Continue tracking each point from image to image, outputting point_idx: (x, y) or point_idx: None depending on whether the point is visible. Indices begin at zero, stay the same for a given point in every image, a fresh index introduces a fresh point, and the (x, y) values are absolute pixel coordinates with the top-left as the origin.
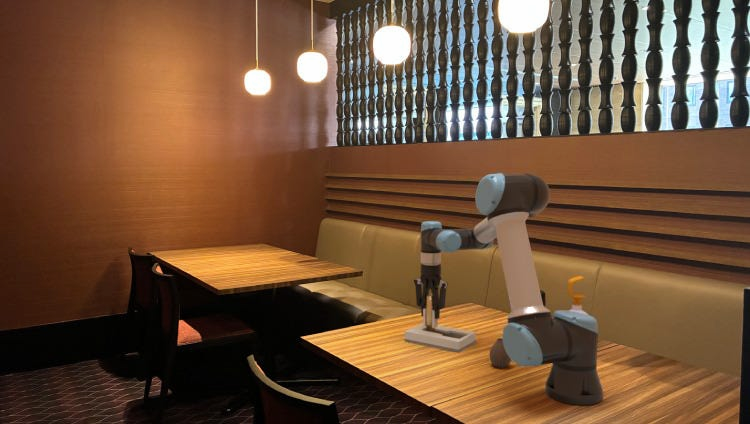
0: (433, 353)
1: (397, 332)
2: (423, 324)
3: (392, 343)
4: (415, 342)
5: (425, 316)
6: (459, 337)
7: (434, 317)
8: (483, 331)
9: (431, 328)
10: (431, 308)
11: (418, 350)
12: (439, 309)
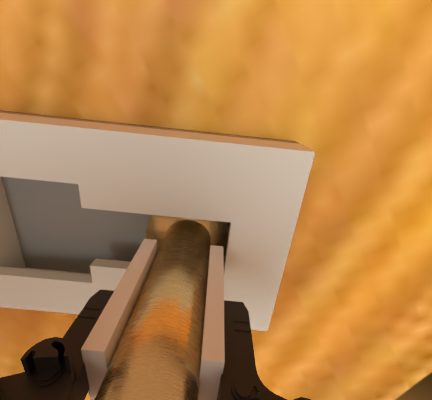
0: (59, 15)
1: (371, 249)
2: (220, 252)
3: (348, 69)
4: (228, 135)
5: (206, 300)
6: (77, 273)
7: (115, 294)
8: None
9: (166, 241)
10: (111, 377)
11: (158, 22)
12: (11, 377)
